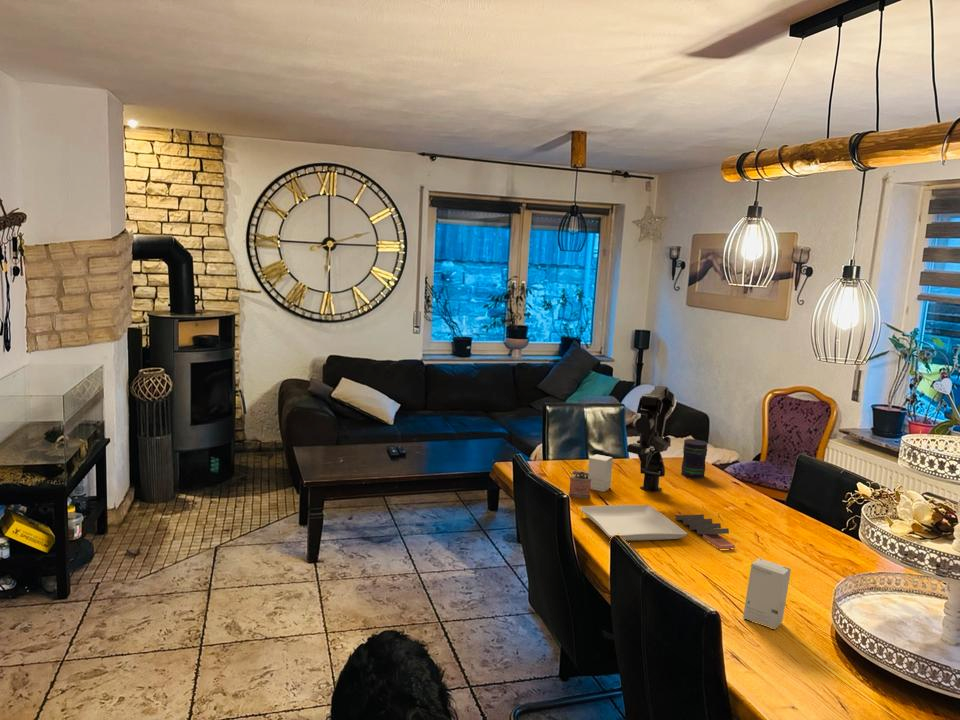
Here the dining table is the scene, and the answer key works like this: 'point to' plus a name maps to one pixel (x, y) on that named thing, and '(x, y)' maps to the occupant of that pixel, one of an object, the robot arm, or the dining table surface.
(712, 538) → the domino
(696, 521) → the domino
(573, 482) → the lighter
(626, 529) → the square plate
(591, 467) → the supplement box
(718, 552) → the dining table surface
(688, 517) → the domino
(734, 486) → the dining table surface
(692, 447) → the storage jar
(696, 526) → the domino
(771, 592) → the skincare box
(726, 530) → the domino
